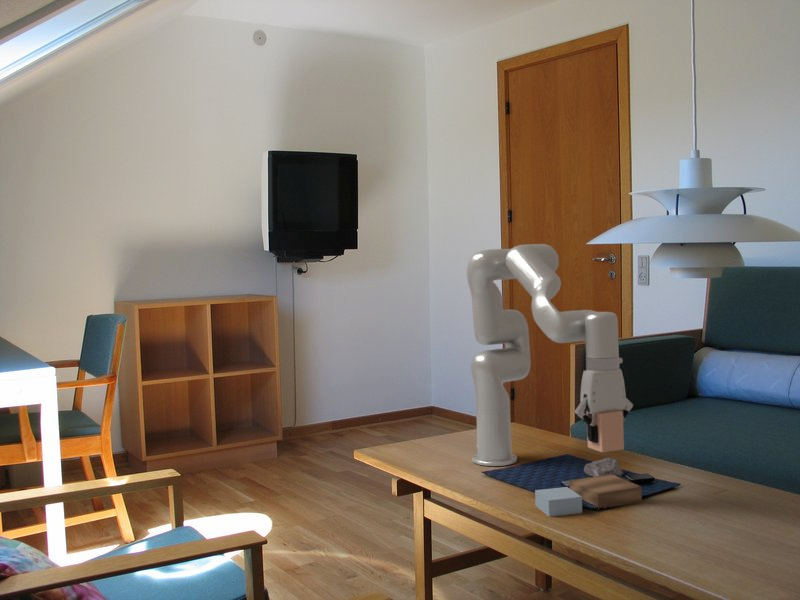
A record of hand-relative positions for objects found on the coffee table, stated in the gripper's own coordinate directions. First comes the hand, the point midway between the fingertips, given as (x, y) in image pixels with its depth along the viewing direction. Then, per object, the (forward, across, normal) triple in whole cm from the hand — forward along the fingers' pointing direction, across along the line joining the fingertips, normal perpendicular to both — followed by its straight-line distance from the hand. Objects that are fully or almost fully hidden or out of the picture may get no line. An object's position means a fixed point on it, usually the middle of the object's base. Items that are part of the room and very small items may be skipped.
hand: (605, 439), depth 191 cm
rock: (+14, -10, -17) cm, 25 cm away
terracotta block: (+2, 0, 0) cm, 2 cm away
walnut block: (+15, 0, -1) cm, 15 cm away
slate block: (+15, +14, +1) cm, 20 cm away
